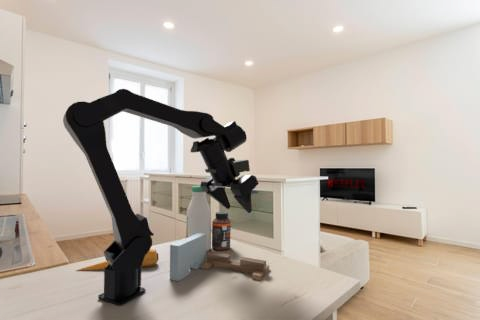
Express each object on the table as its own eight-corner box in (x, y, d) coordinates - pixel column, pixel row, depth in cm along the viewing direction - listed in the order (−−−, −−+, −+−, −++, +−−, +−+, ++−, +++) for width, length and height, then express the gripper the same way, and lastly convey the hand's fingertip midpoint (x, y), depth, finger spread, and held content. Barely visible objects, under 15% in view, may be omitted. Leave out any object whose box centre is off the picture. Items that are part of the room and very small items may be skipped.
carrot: (159, 265, 71) (158, 248, 72) (157, 265, 66) (156, 247, 68) (77, 280, 66) (78, 261, 68) (70, 280, 62) (71, 260, 63)
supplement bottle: (229, 251, 80) (230, 214, 81) (210, 250, 80) (211, 213, 81) (230, 245, 86) (231, 211, 87) (213, 244, 86) (213, 210, 87)
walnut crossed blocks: (259, 280, 60) (259, 267, 60) (201, 268, 67) (201, 256, 67) (269, 269, 66) (269, 257, 66) (215, 259, 73) (215, 248, 73)
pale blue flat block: (178, 281, 59) (178, 246, 59) (169, 279, 60) (170, 244, 60) (206, 263, 70) (206, 233, 70) (198, 261, 71) (199, 232, 71)
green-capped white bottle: (215, 248, 83) (216, 185, 83) (199, 255, 76) (200, 187, 77) (197, 244, 87) (197, 184, 87) (180, 250, 80) (181, 186, 81)
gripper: (260, 144, 64) (281, 196, 69) (218, 148, 79) (237, 192, 83) (229, 165, 58) (254, 222, 62) (189, 166, 72) (212, 212, 77)
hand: (239, 210), depth 71 cm, fingers open, 9 cm apart
